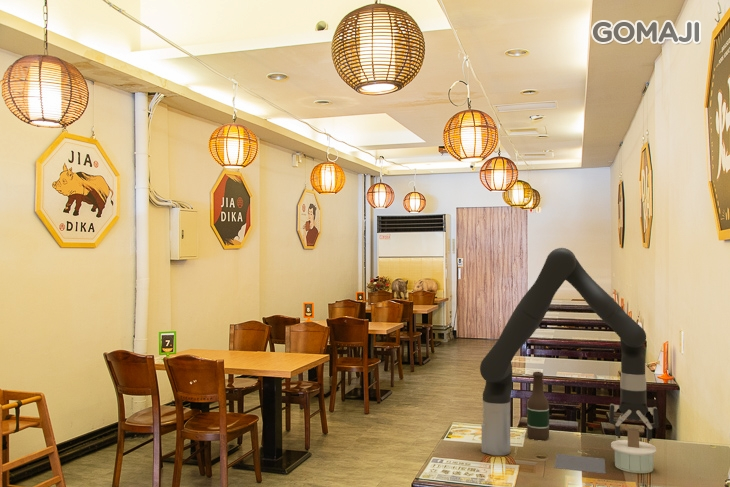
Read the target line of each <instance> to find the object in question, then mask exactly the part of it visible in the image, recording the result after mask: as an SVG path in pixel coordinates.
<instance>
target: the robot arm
mask: <svg viewBox="0 0 730 487" xmlns="http://www.w3.org/2000/svg"><path fill="white" fill-rule="evenodd" d="M565 281H566V282H568V283H569V284H570V285H571V286H572V287H573V288H574V289H575V290H576V291H577V292H578V294H579V295H580V296H581V297H582V298H583V300H584V301H585V303H586V304H588V306H589V308H591V310H592V311H593V312H594V313H595V314H596V315H597V316H598V317H599V318H600V319H601V320H602V322H604V323H605V324H606V325H607V326H609V327H610V329H612V330H613V332H615V334H616V335H617V336H618V337H619V340H620V349H621V350H620V351H621V352H620V353H621V359H620V360H621V361H620V364H621V366H620V370H621V371H620V372H621V373H620V383H619V385H620V386H619V387H620V403H619V404H614V403H610V404H609V416H608V418H609V419H608V421H609V424H611V425H614V427H615V428H614V430H615V436H616V437H617V439H621V424H623V422H624V421H626V419H627V420H628V421H635V422H637V421H638V422H639V421H642V422H643V424H645V425H646V440H647V442H651V441H652V439H653V430H654V429H658V428H659V427H660V425H659V424H660V423H659V410H658V408H657V406H653V407H648V405H647V378H646V377H647V376H646V358H645V355H644V344H645V343H646V340H647V333H646V331H645V330H644V328H643V327H642V326H641V325H640V324H639V323H638V322H636V321H635V320H634V319H633V318H632V317H631V316H630V315H629V314H628V313H626V311H625V310H624V308H622V306H621V305H620V304H618V302H617V301H616V300H615V299H614V298H613V297H612V296H611V295H610V294H609V293H608V292H607V291H605V290H604V289H603V288H602V287H601V286H600V285H599V283H597V282H596V281H595V280H594V279H593V278H592V277H591V275H590V274H589V273H587V271H586V269H584V268H583V266H582V265H581V263H580V262H579V260H578V259H577V258H576V256H575V253H574V252H573V251H572V250H570V249H568V248H566V247H558V248H555V249H554V250H552V251H551V252H549V253H548V255H547V256H546V259H545V261H544V264H543V266H542V267H541V270H540V272H539V274H538V276H537V278H536V280H535V281H534V283H533V284H532V286H531V287H530V288H529V289H528V290H527V292H525V294H524V295H523V297H522V298H521V299H520V301H519V302H518V304H517V306H516V307H515V309H514V310H513V312H512V314H511V315H510V317H509V319H508V320H507V322H506V324H505V326H504V328H503V330H502V332H501V334H500V336H499V338H498V339H497V341H496V342H495V344H494V345H493V346H491V349H490V350H489V351H488V353H487V354H485V356H484V357H483V359H482V360H481V362H480V367H479V372H480V375H481V377H482V379H484V381H485V385H484V390H483V391H482V423H481V453H484V454H488V455H491V456H506V455H507V456H508V455H510V453H511V395H512V391H513V364H512V361H513V359H514V358H515V355H516V354H517V352H518V351H519V350H520V349H521V348H522V346H523V345H525V344H526V342H527V341H528V340H529V339H530V338H531V337H532V335H534V333H535V332H536V330H537V329H538V328H539V326H540V324H541V323H542V321H543V319H544V318H545V316H546V313H547V312H548V310H549V308H550V306H551V304H552V301H553V299H554V297H555V295H556V294H557V292H558V290H559V289H560V287H561V286H562V285H563V284H564V282H565ZM618 409H619V411H620V412H621V414H620V415H619V417H618V418H617V419H614V418H615V413H616V412H617V411H618ZM648 412H650V414H651V416H653V419H652V420H653V423H652V422H650V421H649V419H648V417H646V415H647V413H648Z"/></svg>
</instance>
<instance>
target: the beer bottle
mask: <svg viewBox="0 0 730 487" xmlns="http://www.w3.org/2000/svg"><path fill="white" fill-rule="evenodd" d="M532 376H533V379H532V380H533V381H532V392H531V395H530V397H529V398H528V400H527V406H526V408H527V409H526V419H527V421H526V422H527V423H526V425H527V426H526V429H527V430H526V431H527V432H526V433H527V434H526V435H527V438H528V437H529V438H528V439H530V440H531V439H534V440H533V441H538V440H544V441H547V440H549V438H550V404H549V401H548V400H549V399H548V398H547V397H546V396H545V393H544V392H545V391H544V379H543V377H544V373H543V372H541V371H533V373H532Z"/></svg>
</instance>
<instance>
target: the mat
mask: <svg viewBox="0 0 730 487" xmlns="http://www.w3.org/2000/svg"><path fill="white" fill-rule="evenodd" d="M605 461H606V460H605V458H601V457H593V456H589V457H588V456H584V455H583V456H582V455H571V454H563V453H562V454H561V453H556V457H555V461H554V469H560V470H562V469H563V470H567V471H579V472H588V473H594V474H595V473H598V474H606V462H605Z"/></svg>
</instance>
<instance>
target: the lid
mask: <svg viewBox="0 0 730 487" xmlns="http://www.w3.org/2000/svg"><path fill="white" fill-rule="evenodd" d="M610 445H611V446H610V447H611V449H613V451H614V452H615V451H618V452H621V453H625V454H630V455H640V456H646V455H653V456H654V455H655V454H656V453H657V447H656V446H655V445H653V444H651V443H648V442H646V441H645V442H644V441H640V429H639V428H631V427H630V428H627V439H619V440H618V439H617V440H614V441H612V442H611V443H610Z"/></svg>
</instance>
